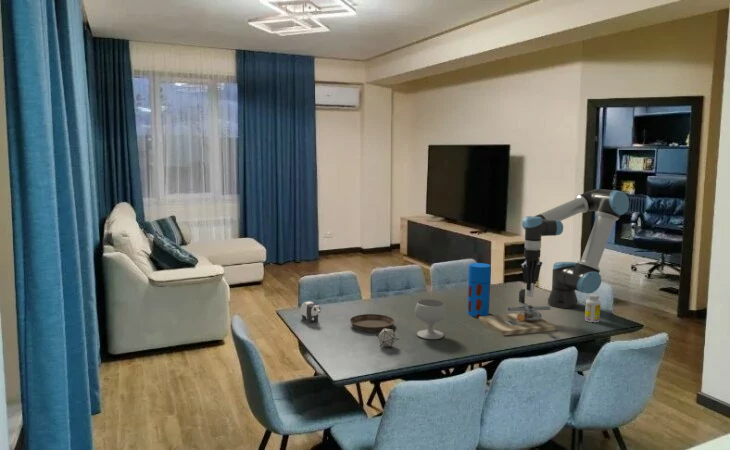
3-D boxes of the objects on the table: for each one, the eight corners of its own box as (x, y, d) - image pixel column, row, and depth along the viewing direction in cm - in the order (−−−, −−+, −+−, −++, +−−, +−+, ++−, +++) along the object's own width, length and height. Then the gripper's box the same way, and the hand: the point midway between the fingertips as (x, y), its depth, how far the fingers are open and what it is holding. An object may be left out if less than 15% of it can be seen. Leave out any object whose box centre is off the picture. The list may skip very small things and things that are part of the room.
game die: (382, 354, 231) (374, 332, 235) (401, 346, 231) (393, 324, 235) (381, 350, 222) (372, 327, 226) (400, 343, 223) (391, 320, 227)
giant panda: (299, 318, 266) (299, 299, 265) (310, 316, 269) (310, 297, 268) (314, 326, 254) (314, 306, 253) (324, 324, 257) (324, 304, 256)
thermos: (489, 317, 269) (491, 268, 266) (466, 316, 271) (468, 266, 268) (488, 311, 280) (490, 263, 276) (467, 310, 282) (468, 262, 279)
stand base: (529, 316, 273) (529, 311, 272) (556, 330, 252) (557, 325, 252) (478, 320, 265) (478, 316, 264) (502, 335, 244) (503, 330, 244)
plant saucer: (371, 317, 270) (372, 310, 269) (403, 327, 255) (403, 320, 255) (340, 326, 256) (340, 319, 255) (372, 337, 241) (372, 330, 240)
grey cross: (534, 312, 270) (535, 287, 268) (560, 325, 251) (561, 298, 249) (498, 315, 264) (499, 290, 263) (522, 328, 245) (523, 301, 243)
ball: (521, 319, 259) (522, 312, 258) (526, 322, 255) (526, 314, 255) (515, 320, 257) (515, 313, 257) (519, 322, 254) (519, 315, 254)
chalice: (438, 343, 234) (439, 308, 232) (408, 336, 241) (409, 303, 239) (451, 333, 246) (452, 301, 244) (422, 328, 253) (423, 296, 251)
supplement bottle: (599, 320, 267) (601, 294, 266) (599, 323, 261) (601, 297, 260) (584, 318, 270) (586, 292, 268) (584, 321, 264) (585, 295, 262)
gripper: (535, 246, 272) (533, 292, 275) (517, 248, 265) (514, 296, 268) (547, 248, 265) (545, 296, 268) (529, 251, 258) (526, 299, 262)
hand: (529, 296), depth 268 cm, fingers closed
